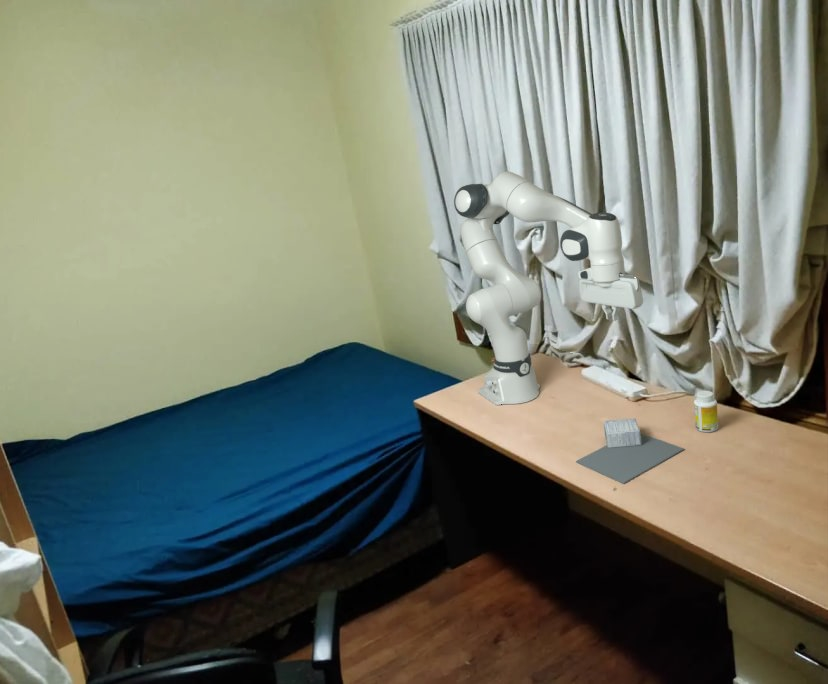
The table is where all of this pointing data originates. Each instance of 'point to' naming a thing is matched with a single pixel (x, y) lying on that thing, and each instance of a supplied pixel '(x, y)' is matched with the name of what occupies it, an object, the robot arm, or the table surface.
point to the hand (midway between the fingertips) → (612, 319)
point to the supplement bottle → (706, 412)
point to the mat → (630, 458)
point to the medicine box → (622, 433)
